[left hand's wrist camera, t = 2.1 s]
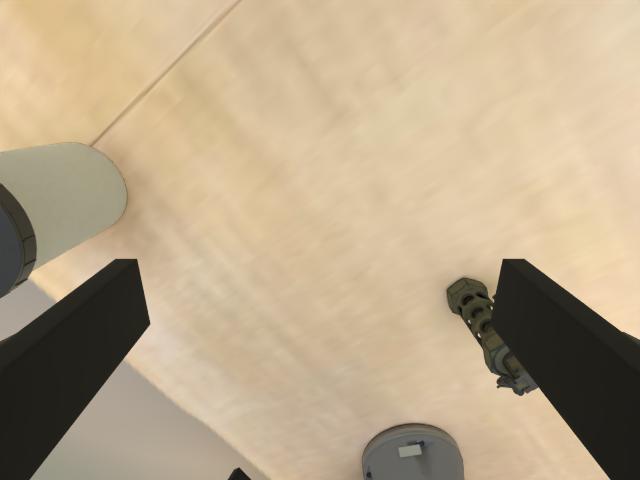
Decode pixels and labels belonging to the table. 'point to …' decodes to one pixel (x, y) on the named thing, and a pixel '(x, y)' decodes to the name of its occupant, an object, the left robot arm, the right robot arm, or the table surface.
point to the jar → (64, 193)
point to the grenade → (488, 334)
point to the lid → (15, 243)
